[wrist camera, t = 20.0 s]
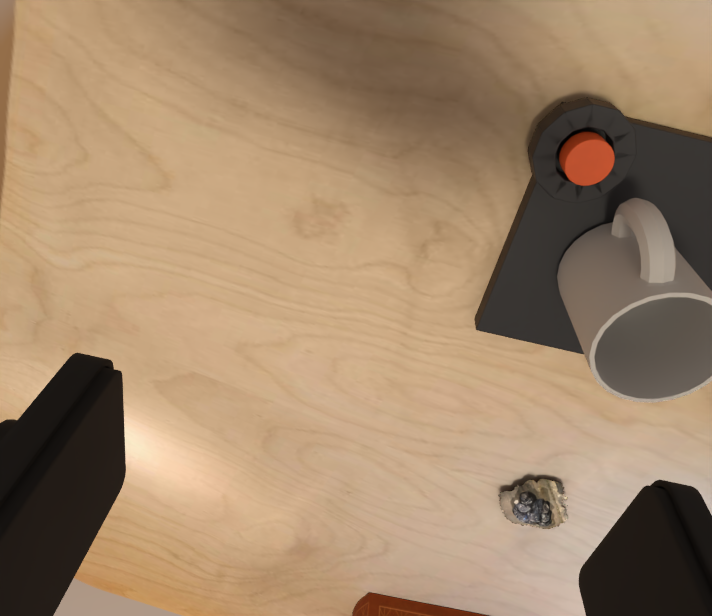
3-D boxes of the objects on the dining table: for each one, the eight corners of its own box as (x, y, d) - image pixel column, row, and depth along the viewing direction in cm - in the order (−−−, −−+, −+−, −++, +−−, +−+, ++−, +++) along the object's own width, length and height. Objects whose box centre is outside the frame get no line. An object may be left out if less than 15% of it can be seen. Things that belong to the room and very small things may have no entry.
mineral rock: (547, 463, 49) (551, 481, 48) (592, 512, 52) (598, 530, 51) (481, 492, 52) (484, 510, 50) (528, 537, 55) (532, 555, 53)
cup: (554, 318, 39) (586, 406, 32) (556, 182, 34) (595, 250, 27) (665, 308, 38) (725, 398, 31) (685, 166, 33) (763, 232, 25)
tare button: (570, 126, 31) (576, 134, 30) (615, 137, 31) (623, 145, 30) (551, 170, 33) (557, 180, 31) (594, 180, 33) (601, 190, 31)
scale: (546, 83, 32) (556, 95, 30) (796, 144, 33) (827, 160, 30) (458, 315, 42) (460, 339, 39) (654, 360, 42) (669, 386, 40)
